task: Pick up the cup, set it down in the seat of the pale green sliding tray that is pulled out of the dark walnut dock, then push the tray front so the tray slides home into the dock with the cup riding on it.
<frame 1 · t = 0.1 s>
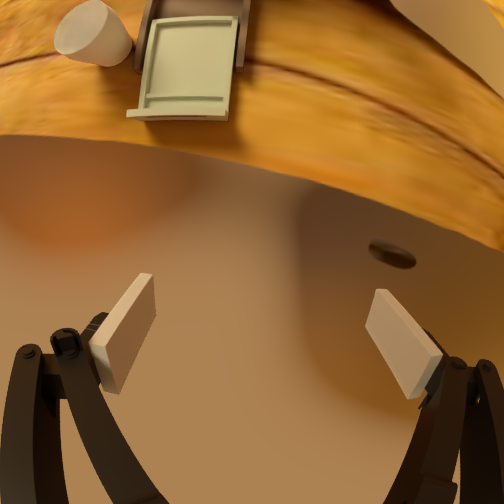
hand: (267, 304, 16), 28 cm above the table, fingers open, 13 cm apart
cup: (115, 49, 32), on the table
dock: (196, 23, 32), on the table
tray: (185, 61, 31), point 4 cm above the table, slide at 7.5 cm
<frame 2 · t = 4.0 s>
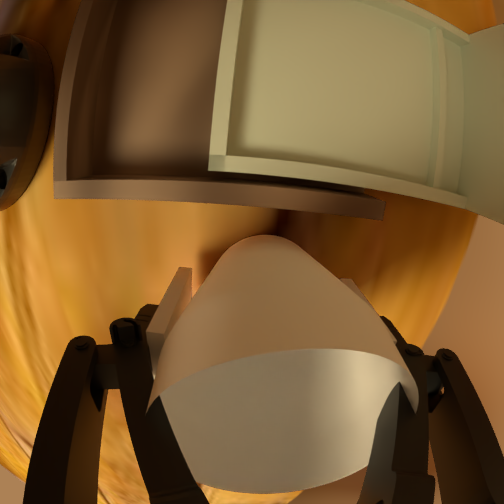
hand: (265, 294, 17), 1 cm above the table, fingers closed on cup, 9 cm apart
cup: (263, 282, 18), on the table, touching gripper
dock: (225, 63, 14), on the table
tray: (390, 71, 11), point 4 cm above the table, slide at 7.5 cm
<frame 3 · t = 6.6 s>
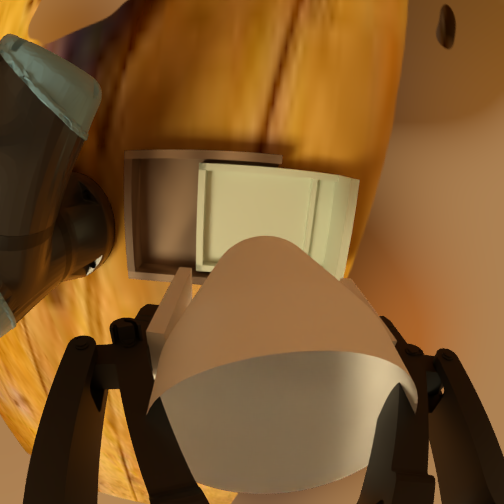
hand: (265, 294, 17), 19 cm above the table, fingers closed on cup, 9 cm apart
cup: (263, 282, 18), point 18 cm above the table, touching gripper
dock: (200, 214, 35), on the table
tray: (271, 226, 32), point 4 cm above the table, slide at 7.5 cm
when the fingers open (4 cm above the table, at t = 9.4 s): cup drops 2 cm, resting on tray.
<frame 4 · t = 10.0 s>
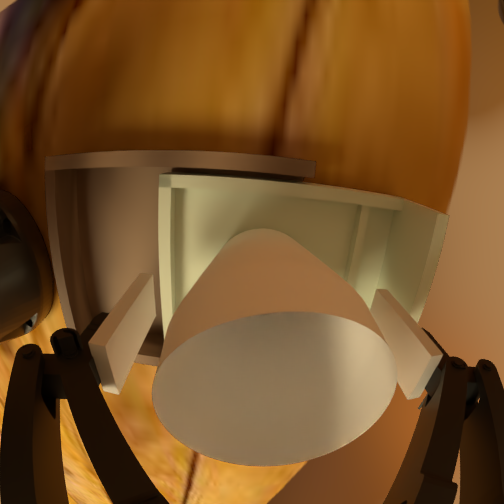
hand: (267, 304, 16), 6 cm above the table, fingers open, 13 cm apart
cup: (261, 272, 20), point 1 cm above the table, touching tray
dock: (171, 258, 21), on the table
tray: (288, 289, 18), point 4 cm above the table, slide at 7.4 cm, touching cup
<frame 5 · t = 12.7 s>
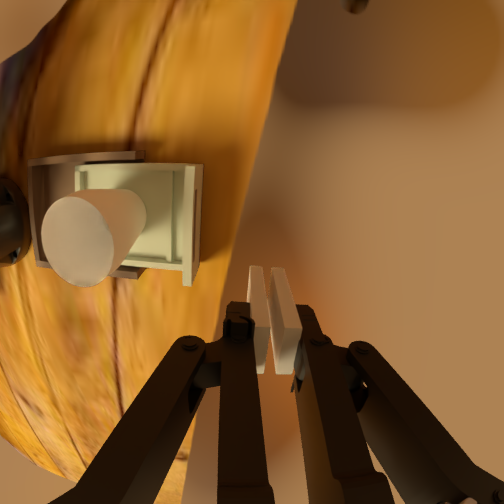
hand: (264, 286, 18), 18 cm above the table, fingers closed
cup: (124, 214, 33), point 1 cm above the table, touching tray
dock: (86, 210, 34), on the table
tray: (128, 218, 31), point 4 cm above the table, slide at 7.4 cm, touching cup
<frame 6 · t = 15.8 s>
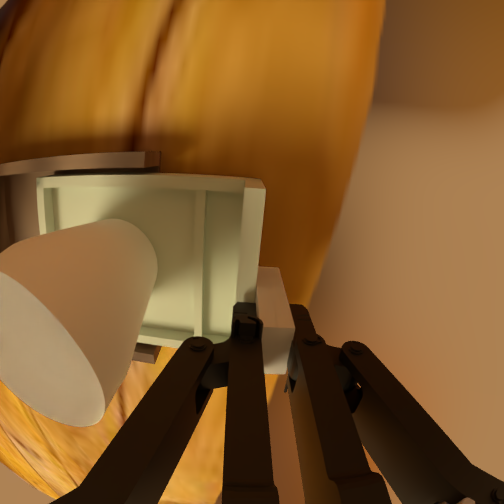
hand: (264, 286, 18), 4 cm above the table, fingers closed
cup: (119, 260, 20), point 1 cm above the table, touching tray
dock: (66, 248, 21), on the table
tray: (126, 274, 18), point 4 cm above the table, slide at 6.8 cm, touching cup, gripper
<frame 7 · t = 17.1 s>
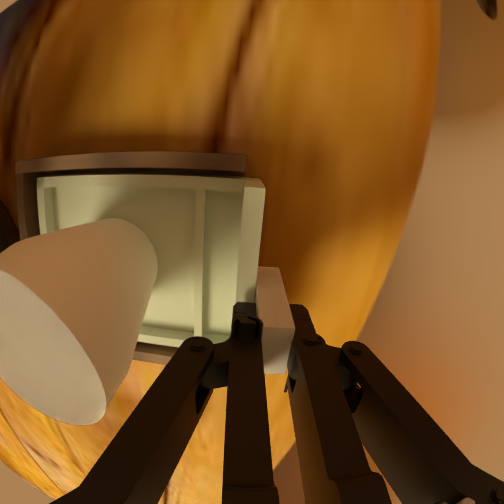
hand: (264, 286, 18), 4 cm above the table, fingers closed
cup: (119, 259, 20), point 1 cm above the table, touching tray
dock: (125, 253, 21), on the table
tray: (126, 273, 18), point 4 cm above the table, slide at 0.6 cm, touching cup, gripper
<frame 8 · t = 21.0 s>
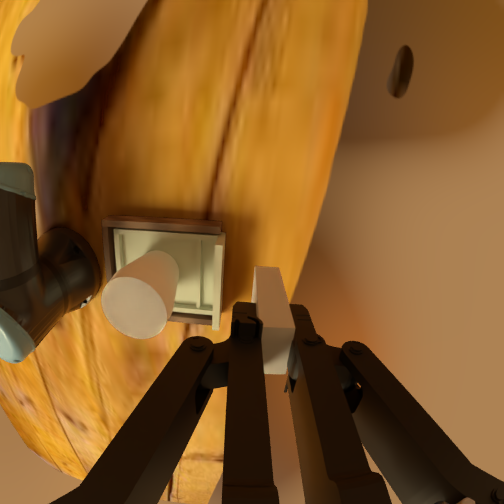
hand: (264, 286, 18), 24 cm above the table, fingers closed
cup: (159, 269, 42), point 1 cm above the table, touching tray
dock: (163, 266, 43), on the table
tray: (165, 276, 40), point 4 cm above the table, slide at 0.3 cm, touching cup
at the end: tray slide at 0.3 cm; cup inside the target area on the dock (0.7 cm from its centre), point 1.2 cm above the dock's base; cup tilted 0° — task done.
